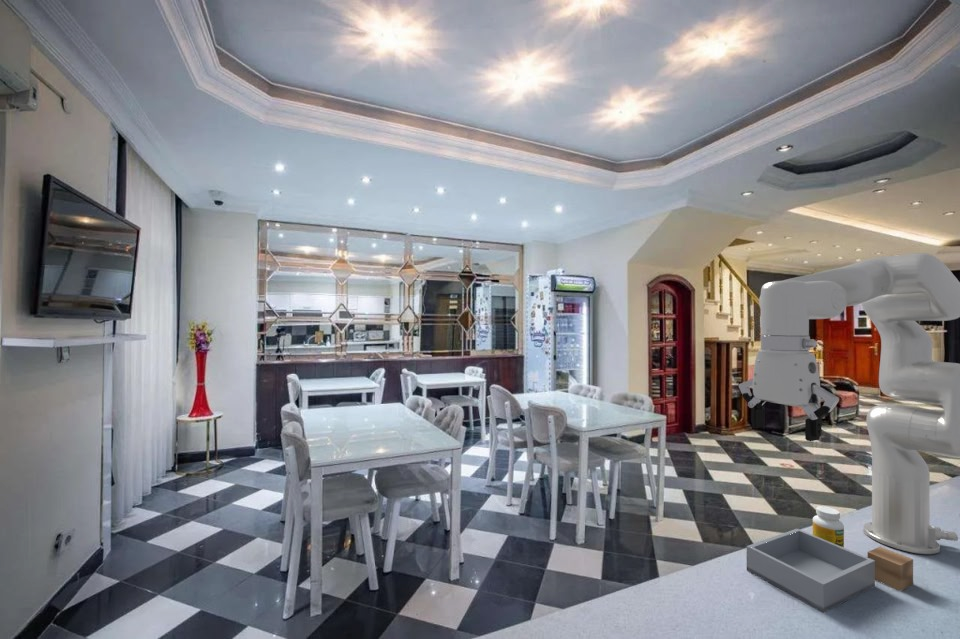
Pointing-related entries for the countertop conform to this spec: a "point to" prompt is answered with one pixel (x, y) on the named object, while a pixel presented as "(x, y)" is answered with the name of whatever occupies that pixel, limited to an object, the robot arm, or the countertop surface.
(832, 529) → the supplement bottle
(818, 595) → the tote
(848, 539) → the countertop surface
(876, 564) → the walnut cube
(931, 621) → the countertop surface
